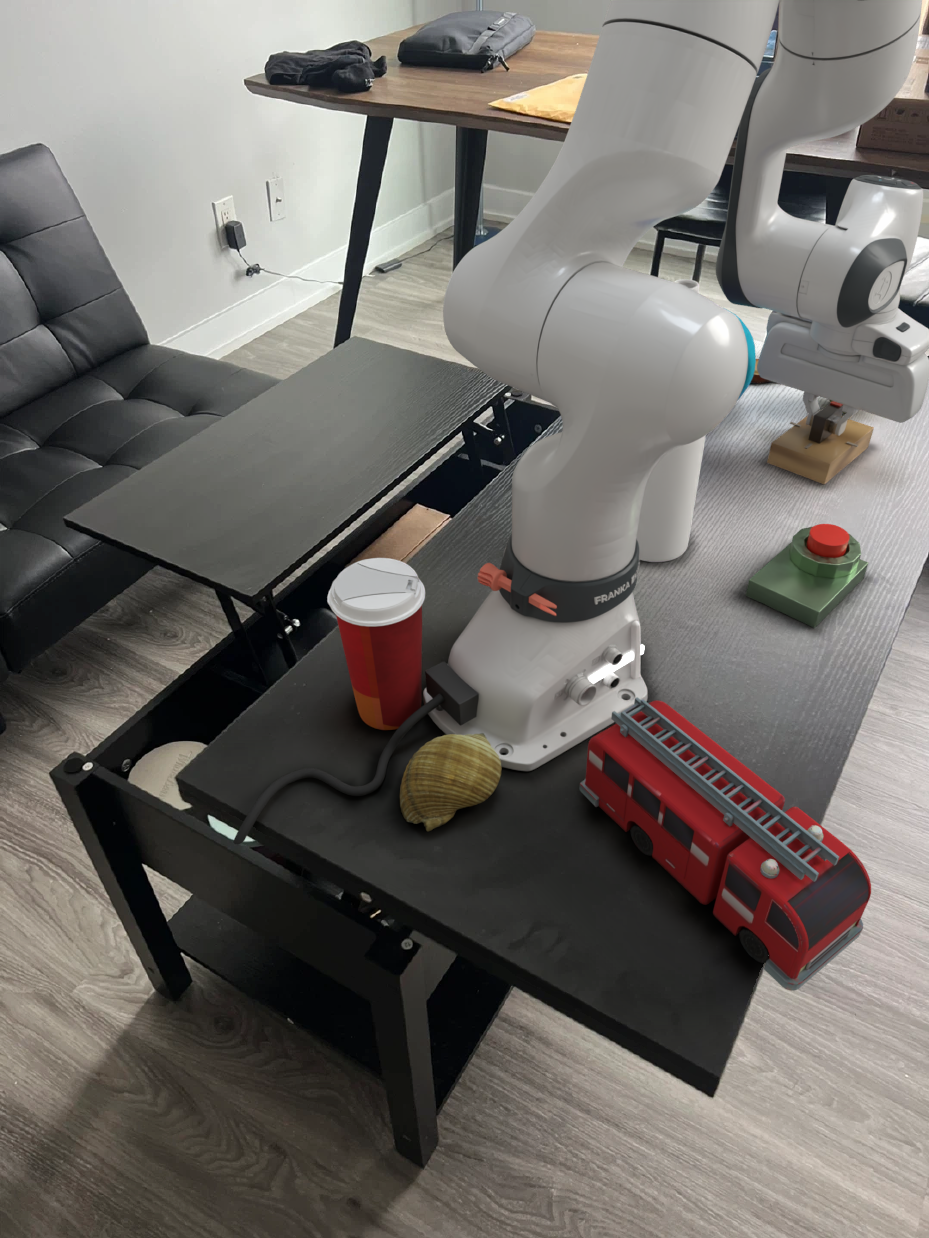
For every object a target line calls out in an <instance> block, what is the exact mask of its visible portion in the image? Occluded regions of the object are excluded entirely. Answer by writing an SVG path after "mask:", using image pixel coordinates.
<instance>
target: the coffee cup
mask: <svg viewBox="0 0 929 1238" xmlns="http://www.w3.org/2000/svg"><path fill="white" fill-rule="evenodd" d="M326 598H327V600H326V601H327V604H328V605H329V607H330V609H331V611H332V612H333V613H334V615H335V617H336V621H337V625H338V629H339V634H340V639H341V644H342V648H343V653H344V655H345V656H344V657H345V661H346V666H347V670H348V674H349V678H350V679H349V680H350V683H351V687H352V691H353V695H354V698H355V699H354V700H355V704H356V707H357V711H358V714H359V717H360V718H361V720H362V721H363V722H364V723H365V724H366V725H367V726H369V727H370V728H372V729H373V728H374V729H377V730H381V731H392V730H397V729H398V728H399V727H400V726H401V725H402V724H403V723H404V721H405V720H406V719H408V718H409V717H410V716H411V715H412V714H413V713H414V712H415V711H417V710H418V709H419V708H421V707H422V691H423V689H422V685H423V684H422V682H423V681H422V675H423V673H422V671H423V669H422V667H423V662H422V660H423V657H422V655H423V650H422V649H423V603H424V602H425V599H426V588H425V585H424V583H423V582H422V580H421V579H420V578H419V575H418V573H417V572H416V571H415V569H414V568H412V566H411V565H409V564H408V563H405V562H404V561H401V560H399V559H395V558H388V557H373V558H365V559H362V560H358V561H356V562H354V563H352V564H350V565H348V566H347V567H345V568H344V569H343V570H342V571H340V572H339V573H338V575H337V577H336V578H335V579H334V580H333V581H332V583H331V586H330V589H329V590H328V594H327V597H326Z"/></svg>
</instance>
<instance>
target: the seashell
mask: <svg viewBox="0 0 929 1238" xmlns="http://www.w3.org/2000/svg"><path fill="white" fill-rule="evenodd" d="M502 768H503V767H502V766H501V761H500V759H499V756H498V754H497V753H496V752H495V750H494V749H493V748H492V747H491V744H490V743H489V741H488V740H487V738H486V736H485V735H484V733H480V734H467V735H455V734H449V735H447V734H443V735H442V736H437V737H434V738H433V739H431V740H429V741H427V742H425V743H424V745H422V746H421V747H419V748H418V750H417V751H415V752H414V753H413V755H412V757H411V758H410V759H409V761H408V764H407V765H406V766H405V769H404V772H403V776H402V778H401V784H400V790H399V807H400V813H402V817H403V818H404V820H405V821H406V822H407V823H413V824H414V825H415V824H416V825H417V824H420V823H423V827H425V830H426V832H431V831H432V830H433V829H436V828H439V827H441V826H443V825H445V824H446V823H448V822H449V821H450V820H451V819H453V818H454V816H455V814H456V812H457V811H458V810H460V809H464V808H468V807H469V808H470V807H473V806H476V805H478V804H481V803H483V802H485V801H486V800H488V799H489V798H490V797H491V795H492V794H493V793H494V792H495V791H496V789H497V787H498V785H499V783H500V780H501V776H502V770H503V769H502Z"/></svg>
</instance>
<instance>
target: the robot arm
mask: <svg viewBox="0 0 929 1238" xmlns="http://www.w3.org/2000/svg"><path fill="white" fill-rule="evenodd" d="M922 6H923V0H609V4H608V6H607V10H606V13H605V17H604V20H603V23H602V26H601V29H600V32H599V36H598V39H597V42H596V45H595V50H594V52H593V56H592V59H591V62H590V65H589V67H588V68H589V69H588V71H587V75H586V78H585V81H584V84H583V87H582V90H581V93H580V96H579V98H578V102H577V105H576V107H575V111H574V113H573V117H572V119H571V122H570V125H569V128H568V131H567V133H566V136H565V139H564V141H563V143H562V146H561V148H560V150H559V152H558V154H557V156H556V159H555V160H554V162H553V164H552V166H551V168H550V169H549V170H548V173H547V174H546V176H545V178H544V179H543V181H542V182H541V184H540V185H539V187H538V188H537V190H536V191H535V192H534V194H533V195H532V197H531V198H530V200H529V201H528V202H527V203H526V204H525V206H524V207H523V208H522V210H520V212H518V213H517V215H516V216H515V217H514V218H513V219H512V220H511V222H510V223H508V224H507V225H506V226H505V227H504V228H503V229H502V230H500V231H499V232H498V233H497V234H495V235H494V236H492V237H490V238H489V239H487V240H485V241H483V242H481V243H479V244H478V245H476V246H475V247H473V248H471V249H470V250H469V251H468V252H467V253H466V254H465V255H464V256H463V257H462V258H461V260H460V261H459V263H457V265H456V267H455V268H454V270H453V272H452V274H451V276H450V278H449V281H448V283H447V285H446V289H445V293H444V297H443V304H442V305H443V306H442V321H443V327H444V331H445V335H446V337H447V340H448V342H449V343H450V345H451V346H452V349H454V350H455V352H457V353H458V354H459V355H460V356H462V357H463V358H464V359H466V360H467V361H468V362H469V363H470V364H472V366H474V367H475V368H477V369H479V370H480V371H481V372H483V373H484V374H485V375H486V376H488V377H489V378H491V379H492V380H494V381H496V382H499V383H500V384H503V385H505V386H508V387H511V388H513V389H516V390H517V391H520V392H523V393H525V394H528V395H529V396H533V397H534V398H538V399H540V400H542V401H545V402H546V403H549V404H551V405H552V406H553V407H555V408H557V410H558V412H559V415H560V417H561V421H562V427H561V428H562V429H561V431H560V432H557V433H554V434H551V435H548V436H545V437H544V438H541V439H539V440H538V441H536V442H535V443H533V444H531V446H530V447H528V448H527V450H526V451H525V452H524V453H523V454H522V455H521V457H520V459H519V460H518V462H517V464H516V465H515V468H514V470H513V473H512V476H511V532H510V535H509V537H508V539H507V543H506V546H505V548H504V551H503V554H502V555H503V556H502V560H501V563H500V567H499V568H498V567H497V566H496V565H494V564H493V563H491V562H486V563H485V564H483V565H482V567H481V568H480V569H479V572H478V573H477V582H478V583H480V584H481V585H483V586H486V587H488V588H490V590H491V591H490V592H489V593H488V594H487V596H486V597H485V599H483V602H481V604H480V606H479V608H478V609H477V610H476V611H475V613H474V615H473V616H472V618H471V619H470V620H469V621H468V622H467V624H466V626H465V628H464V629H463V630H462V632H461V633H460V634H459V636H458V638H456V640H455V642H454V643H453V644H452V647H451V649H450V652H449V656H448V661H447V663H446V662H445V661H441V662H439V663H438V664H435V665H434V666H432V667H430V668H428V669H426V670H425V671H424V675H425V676H424V677H425V688H424V690H422V702H423V705H421V708H419V709H418V710H417V711H415V712H414V713H413V714H412V715H411V716H410V717H409V718H408V719H406V720H405V721H404V723H403V724H402V725H401V726H400V727H399V728H398V729H395V732H394V733H393V734H392V736H391V738H390V739H389V740H388V742H387V743H386V745H385V747H384V749H383V750H382V752H381V754H380V756H379V759H378V762H377V767H376V771H375V775H374V777H373V779H372V780H371V781H370V782H369V783H366V784H364V785H361V786H360V785H359V786H358V785H357V786H354V785H351V784H347V783H345V782H343V781H342V780H340V779H338V778H337V777H335V776H334V775H332V774H330V773H328V772H326V771H324V770H322V769H319V768H315V767H305V768H300V769H297V770H294V771H291V772H289V773H286V774H285V775H283V776H281V777H279V778H278V779H276V780H275V781H273V782H272V783H271V784H269V786H268V787H267V788H266V789H265V790H263V792H262V793H261V794H260V795H259V797H258V799H256V801H255V802H254V803H253V805H252V807H251V808H250V810H249V812H248V813H247V815H246V817H245V818H244V820H243V822H242V824H241V826H240V827H239V828H238V831H237V832H236V834H235V837H234V839H233V841H232V843H233V845H237V846H238V845H241V844H242V843H244V842H245V840H246V838H247V837H248V835H249V833H250V831H251V830H252V828H253V826H254V824H255V823H256V821H257V820H258V818H259V816H260V814H261V813H262V812H263V810H264V808H265V807H266V805H267V804H268V802H269V801H270V800H271V799H272V798H273V797H274V795H275V794H276V793H277V792H278V791H280V790H281V789H282V788H284V787H286V786H288V785H289V784H292V783H294V782H296V781H300V780H302V779H307V778H308V779H309V778H311V779H316V780H319V781H322V782H323V783H325V784H327V785H328V786H330V787H332V788H333V789H335V790H337V791H339V792H341V793H342V794H345V795H347V796H351V797H363V796H366V795H369V794H372V793H374V792H375V791H376V790H378V789H379V788H380V787H381V786H382V784H383V783H384V780H385V777H386V773H387V768H388V764H389V761H390V759H391V757H392V755H393V753H394V752H395V750H396V749H397V747H398V745H399V744H400V742H401V741H402V740H403V738H404V736H406V734H407V733H408V732H409V731H410V730H411V729H412V728H413V727H414V726H415V725H416V724H417V723H418V722H419V721H420V720H422V719H423V718H425V717H426V716H429V718H430V719H431V720H432V722H433V723H434V724H435V725H436V726H437V728H439V729H440V731H442V732H443V733H444V735H449V734H455V735H467V734H480V733H484V735H485V736H486V738H487V740H488V741H489V743H490V744H491V747H492V748H493V749H494V750H495V752H496V753H497V754H498V756H499V759H500V761H501V768H505V769H510V770H514V771H521V772H531V771H533V770H536V769H537V768H539V767H541V766H543V765H545V764H546V763H548V762H550V761H551V760H553V759H554V758H556V757H558V756H560V755H562V754H563V753H565V752H566V751H568V750H571V748H574V747H575V746H577V745H578V744H580V743H582V742H584V741H585V740H587V739H588V738H590V737H593V736H594V735H595V734H598V733H600V732H601V731H602V730H604V729H605V728H607V727H610V725H613V724H614V723H615V722H614V721H613V720H612V719H611V717H612V712H613V711H615V712H617V713H618V714H619V713H621V712H622V711H624V710H626V709H627V708H629V707H631V706H632V705H634V702H635V698H637V697H638V698H639V699H640V700H642V699H643V700H645V701H646V702H647V701H648V698H649V697H648V687H647V685H646V682H645V680H644V678H643V677H642V675H641V656H642V655H644V653H645V645H644V644H642V642H641V641H642V639H641V638H642V636H641V635H642V633H641V631H642V630H641V629H642V627H641V622H640V618H639V614H638V610H637V606H636V603H635V602H636V601H635V599H634V598H635V597H634V596H635V595H634V590H635V588H636V585H637V582H638V575H639V572H640V566H641V565H640V564H641V560H640V559H639V543H638V541H637V538H636V537H637V529H638V522H639V515H640V510H641V504H642V499H643V494H644V489H645V485H646V482H647V480H648V478H649V475H650V473H651V471H652V470H653V468H654V466H655V465H656V464H657V463H658V461H659V460H660V459H661V458H662V457H663V456H664V455H666V454H667V453H669V452H670V451H672V450H673V449H675V448H677V447H680V446H683V445H686V444H690V443H692V442H694V441H696V440H698V439H700V438H702V437H704V436H705V435H706V436H707V435H708V434H710V433H711V432H713V431H714V430H715V429H716V428H717V427H719V425H720V424H721V423H722V422H723V421H724V420H725V419H726V418H727V417H728V415H729V414H730V413H731V411H732V410H733V408H734V407H735V406H736V404H737V402H738V401H739V400H738V398H739V396H740V394H741V391H742V389H743V386H744V383H745V379H746V374H747V368H748V347H747V341H746V337H745V333H744V330H743V327H742V324H741V322H740V320H739V319H738V318H737V317H736V316H735V315H734V314H735V313H734V312H732V311H730V310H729V309H727V308H725V307H724V306H721V305H720V304H718V303H717V302H715V301H713V300H711V299H710V298H708V297H706V296H704V295H703V294H701V293H700V292H699V293H697V292H696V291H694V290H692V289H690V288H688V287H686V286H685V285H682V284H679V283H676V282H674V281H673V280H668V279H665V278H662V277H658V276H655V275H652V274H647V273H645V272H641V271H639V270H635V269H631V268H627V267H625V266H624V264H625V262H626V261H627V259H628V257H629V255H630V253H631V252H632V250H633V248H635V246H636V244H637V243H638V242H639V241H640V240H641V239H642V238H643V237H644V235H646V234H647V233H648V232H649V231H650V230H651V229H653V228H654V226H656V225H657V224H660V223H661V222H663V221H665V220H669V219H672V218H674V217H677V216H681V215H683V214H685V213H688V212H690V211H693V210H694V209H695V208H697V207H698V206H699V205H701V204H702V203H703V202H705V200H706V199H707V198H708V197H709V196H710V195H711V193H712V192H713V190H714V189H715V188H716V186H717V185H718V184H719V181H720V179H721V176H722V173H723V171H724V168H725V165H726V163H727V159H728V157H729V154H730V152H731V149H732V146H733V142H734V140H735V137H736V135H737V138H736V144H735V152H734V159H733V160H734V161H733V167H732V168H733V169H732V174H731V182H730V188H729V189H730V190H729V197H728V198H729V199H728V206H727V212H726V222H725V225H724V230H723V233H722V237H721V241H720V244H719V248H718V251H717V255H716V256H717V257H716V262H715V276H716V280H717V282H718V284H719V287H720V289H721V291H722V293H723V295H724V296H725V298H726V299H727V301H728V302H729V303H731V304H733V305H737V306H743V307H749V308H754V309H764V310H768V311H771V312H770V313H769V316H768V318H767V323H766V337H765V340H764V342H763V345H762V348H761V350H760V354H759V357H758V359H759V360H758V364H757V370H758V373H759V375H760V377H761V378H764V379H767V380H770V381H773V382H772V383H777V384H780V385H782V386H785V387H788V388H792V389H795V390H798V391H801V392H803V395H802V401H803V404H804V407H805V410H806V413H807V415H808V416H807V415H806V416H807V420H806V425H809V426H812V422H813V418H814V415H815V414H816V413H818V412H819V411H820V410H821V408H820V405H819V401H818V398H819V397H820V398H822V399H826V400H828V401H830V400H831V401H835V402H838V403H841V404H844V405H843V409H842V411H843V412H845V413H844V415H842V416H841V417H840V416H836V417H835V418H834V419H832V420H831V421H830V425H829V426H830V428H828V432H830V433H833V434H835V435H838V436H839V435H841V434H842V433H843V432H844V430H845V427H846V424H847V420H848V419H850V420H851V418H852V417H853V416H854V415H856V414H857V413H858V411H862V412H866V413H868V414H872V415H875V416H877V417H880V418H883V419H888V420H890V421H893V422H896V423H899V424H903V423H905V422H907V421H909V420H910V419H912V418H913V417H915V416H916V415H917V414H918V413H919V412H920V411H921V409H922V406H923V404H924V401H925V397H926V395H927V394H926V393H927V390H928V385H929V384H928V383H929V356H928V355H927V353H926V352H927V351H928V350H929V328H928V327H926V326H925V325H923V324H922V323H920V322H918V321H917V320H915V319H914V318H912V317H911V316H909V315H908V314H906V313H905V312H903V311H902V310H901V309H900V308H899V305H900V300H901V286H902V283H903V279H904V277H905V275H906V274H907V272H908V270H909V269H910V266H911V263H912V260H913V256H914V252H915V249H916V244H917V241H918V236H919V232H920V231H919V230H920V226H921V219H922V213H923V205H924V189H923V188H922V187H921V186H920V185H919V184H917V183H916V182H914V181H911V180H908V179H905V178H904V179H903V178H897V177H893V176H891V177H890V176H886V175H884V176H883V175H878V174H864V175H863V174H862V175H860V176H857V177H855V178H854V177H853V179H852V180H851V181H850V183H849V185H848V187H847V189H846V192H845V195H844V197H843V200H842V202H841V206H840V209H839V211H838V214H837V218H836V221H835V223H834V224H835V225H833V224H828V223H823V222H819V221H815V220H814V221H813V220H809V219H806V218H805V219H804V218H799V217H796V216H793V215H791V214H789V213H788V212H786V211H785V210H783V209H782V208H781V207H780V205H779V204H778V202H779V201H778V200H779V194H780V189H781V183H782V179H783V172H784V166H785V162H786V158H787V157H786V156H787V151H788V149H790V148H793V147H796V146H799V145H802V144H807V143H810V142H816V141H821V140H827V139H832V138H834V137H837V136H841V135H843V134H846V133H848V132H850V131H853V130H854V129H856V128H858V127H860V126H862V125H863V124H865V123H867V122H869V121H870V120H871V119H873V118H874V117H876V116H877V115H878V114H879V113H881V111H883V110H884V109H885V108H886V107H887V106H889V104H890V103H891V102H892V101H893V100H894V99H895V97H896V96H897V95H898V93H900V91H901V89H902V88H903V86H904V84H905V83H906V81H907V79H908V78H909V75H910V72H911V69H912V66H913V62H914V60H915V59H914V58H915V55H916V51H917V45H918V39H919V33H920V24H921V15H922ZM777 12H778V28H777V29H778V32H777V33H778V37H777V40H778V41H777V50H776V55H775V58H774V62H773V65H772V66H771V67H769V68H767V69H765V70H764V71H762V72H761V73H760V74H759V75H758V73H759V70H760V67H761V64H762V62H763V58H764V55H765V53H766V50H767V47H768V43H769V41H770V40H769V39H770V37H771V32H772V29H773V26H774V22H775V20H776V16H777ZM757 75H758V76H757ZM726 309H727V310H726ZM728 310H729V311H730V312H729V311H728ZM731 312H732V313H731ZM733 313H734V314H733ZM737 400H738V401H737ZM846 412H847V413H846ZM647 703H648V702H647ZM634 710H635V709H634ZM629 713H630V712H629Z"/></svg>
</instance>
